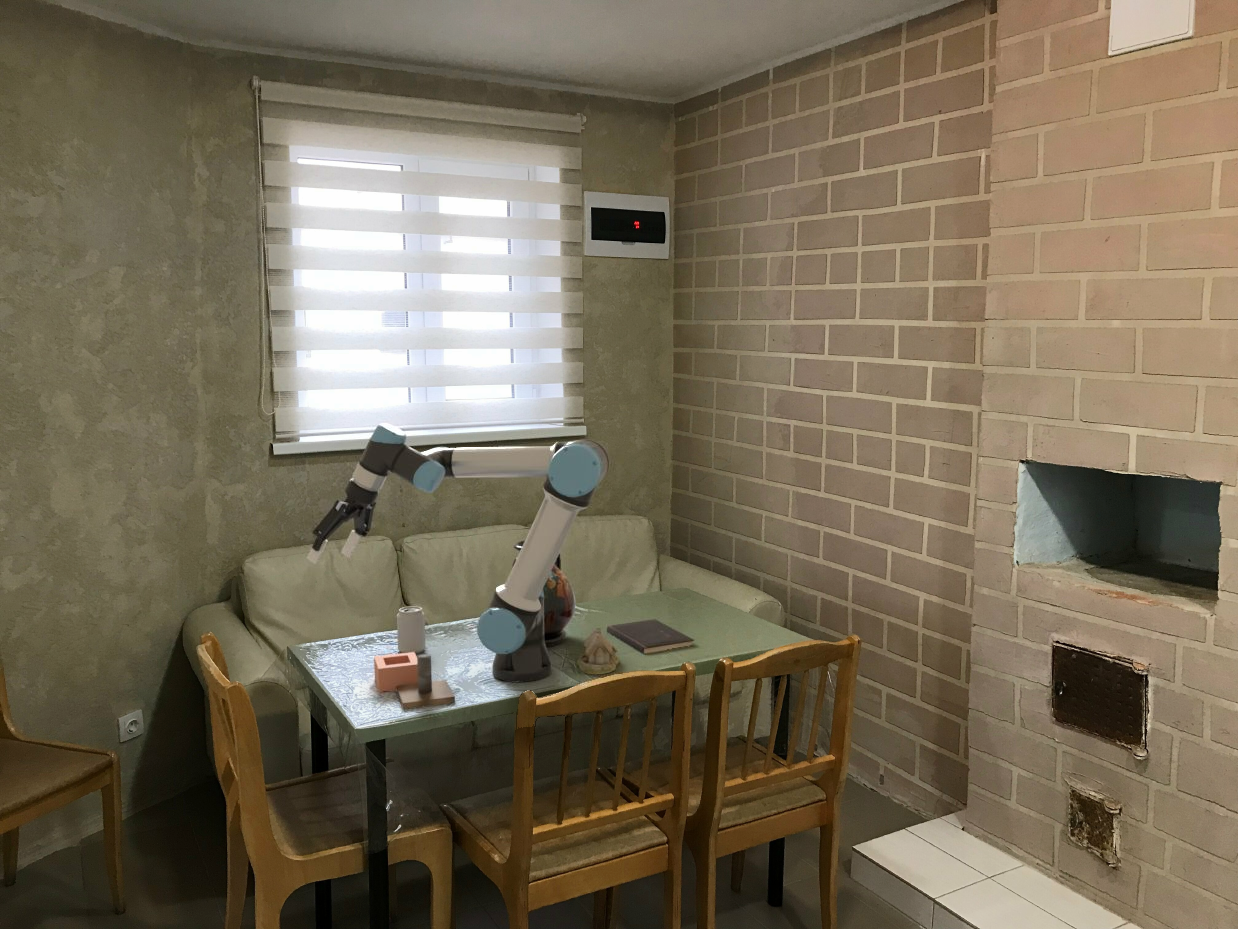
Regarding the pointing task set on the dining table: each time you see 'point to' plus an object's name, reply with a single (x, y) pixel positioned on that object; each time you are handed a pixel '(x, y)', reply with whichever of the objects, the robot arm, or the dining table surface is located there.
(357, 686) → the dining table surface
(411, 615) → the can
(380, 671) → the collar
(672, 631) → the hardcover book
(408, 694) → the post stand
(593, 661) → the ceramic model
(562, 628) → the amphora vase
